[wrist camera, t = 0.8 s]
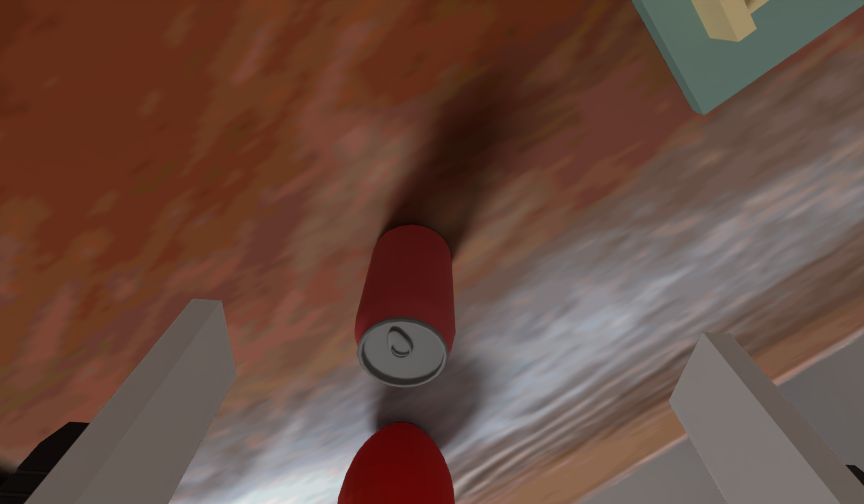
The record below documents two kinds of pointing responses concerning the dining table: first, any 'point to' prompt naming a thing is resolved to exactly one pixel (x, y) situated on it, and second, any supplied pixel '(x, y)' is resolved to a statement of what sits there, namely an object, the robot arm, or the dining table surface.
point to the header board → (733, 39)
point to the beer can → (407, 308)
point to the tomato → (398, 470)
